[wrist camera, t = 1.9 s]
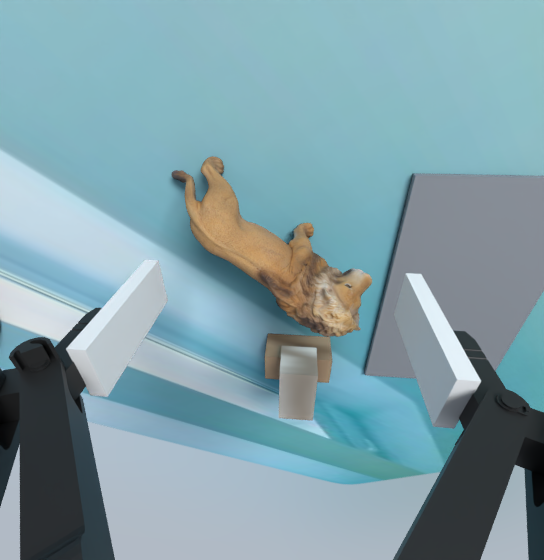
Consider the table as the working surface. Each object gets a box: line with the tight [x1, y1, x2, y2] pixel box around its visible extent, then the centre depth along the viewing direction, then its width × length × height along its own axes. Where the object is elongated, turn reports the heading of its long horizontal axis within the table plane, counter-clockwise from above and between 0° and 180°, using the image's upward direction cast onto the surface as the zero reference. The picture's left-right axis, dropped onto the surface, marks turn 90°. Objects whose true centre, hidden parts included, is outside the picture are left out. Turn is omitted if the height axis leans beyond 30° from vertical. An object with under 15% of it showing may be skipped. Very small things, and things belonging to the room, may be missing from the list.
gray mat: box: [364, 174, 544, 378], centre depth 26 cm, size 12×20×1 cm, turn 0°
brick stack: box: [265, 334, 332, 420], centre depth 28 cm, size 6×6×6 cm
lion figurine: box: [172, 157, 372, 337], centre depth 20 cm, size 15×5×9 cm, turn 63°
